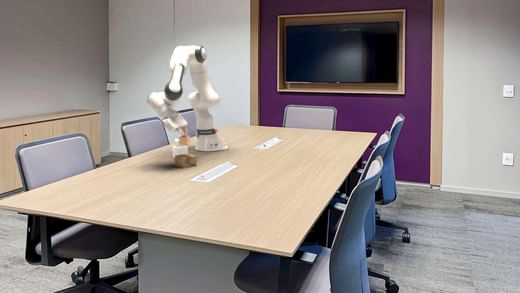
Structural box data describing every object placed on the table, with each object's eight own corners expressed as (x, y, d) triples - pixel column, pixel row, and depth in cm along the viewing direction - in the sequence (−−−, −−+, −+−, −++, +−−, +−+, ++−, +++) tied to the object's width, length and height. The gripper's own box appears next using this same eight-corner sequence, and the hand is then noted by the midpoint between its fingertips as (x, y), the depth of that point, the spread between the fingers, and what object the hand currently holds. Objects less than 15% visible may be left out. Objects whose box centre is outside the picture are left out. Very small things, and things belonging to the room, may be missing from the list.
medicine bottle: (182, 156, 290) (181, 137, 287) (188, 157, 284) (187, 138, 282) (172, 157, 285) (171, 138, 283) (178, 159, 280) (177, 139, 277)
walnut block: (189, 163, 268) (189, 153, 267) (196, 166, 261) (196, 155, 260) (175, 165, 263) (174, 155, 262) (182, 168, 256) (181, 157, 255)
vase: (182, 143, 263) (182, 126, 261) (190, 143, 262) (189, 126, 260) (179, 145, 258) (178, 127, 256) (187, 145, 257) (186, 127, 255)
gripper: (164, 114, 248) (182, 133, 248) (179, 111, 268) (195, 128, 267) (157, 122, 250) (174, 141, 250) (172, 118, 269) (188, 135, 269)
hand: (185, 134), depth 259 cm, fingers closed on vase, 2 cm apart
